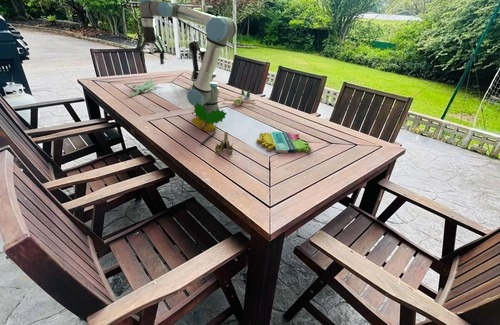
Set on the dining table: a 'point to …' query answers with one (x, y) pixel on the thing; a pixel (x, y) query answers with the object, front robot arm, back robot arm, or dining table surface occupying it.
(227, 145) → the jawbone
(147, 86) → the airplane
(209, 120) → the ornament
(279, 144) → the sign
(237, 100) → the toy
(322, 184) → the dining table surface
